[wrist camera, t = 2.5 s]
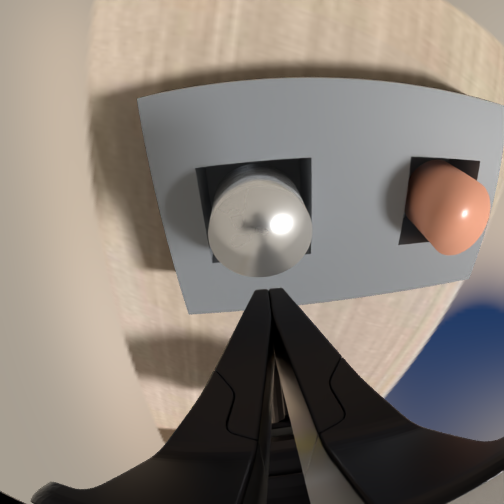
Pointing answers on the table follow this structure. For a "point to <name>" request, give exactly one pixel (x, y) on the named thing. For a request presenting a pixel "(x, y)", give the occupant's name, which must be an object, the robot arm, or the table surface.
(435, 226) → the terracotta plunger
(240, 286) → the panel
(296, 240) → the steel plunger
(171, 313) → the table surface
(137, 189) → the table surface
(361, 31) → the table surface
